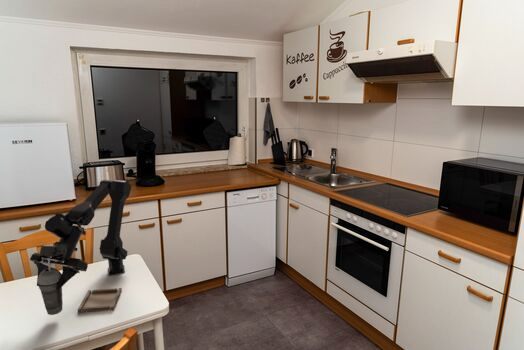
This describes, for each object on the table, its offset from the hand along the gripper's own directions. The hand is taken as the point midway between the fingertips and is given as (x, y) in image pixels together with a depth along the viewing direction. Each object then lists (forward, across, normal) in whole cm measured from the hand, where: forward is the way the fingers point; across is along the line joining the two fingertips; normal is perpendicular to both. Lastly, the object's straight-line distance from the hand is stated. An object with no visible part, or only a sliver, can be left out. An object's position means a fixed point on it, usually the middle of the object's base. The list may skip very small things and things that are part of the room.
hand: (47, 287), depth 117 cm
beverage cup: (+6, 0, +8) cm, 10 cm away
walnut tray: (0, +8, +19) cm, 21 cm away
